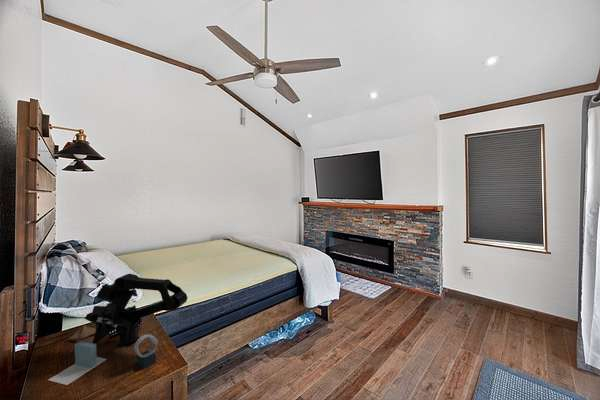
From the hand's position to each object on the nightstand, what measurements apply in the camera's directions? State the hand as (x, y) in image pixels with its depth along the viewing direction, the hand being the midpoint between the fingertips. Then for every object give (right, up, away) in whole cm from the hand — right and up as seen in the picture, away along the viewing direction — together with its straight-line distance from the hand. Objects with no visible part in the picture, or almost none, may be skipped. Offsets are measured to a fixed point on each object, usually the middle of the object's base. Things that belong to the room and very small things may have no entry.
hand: (94, 343), depth 102 cm
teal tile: (-1, -7, -3) cm, 7 cm away
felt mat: (-2, -7, -5) cm, 9 cm away
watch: (+21, -7, -1) cm, 22 cm away
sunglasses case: (-14, -7, +14) cm, 21 cm away
